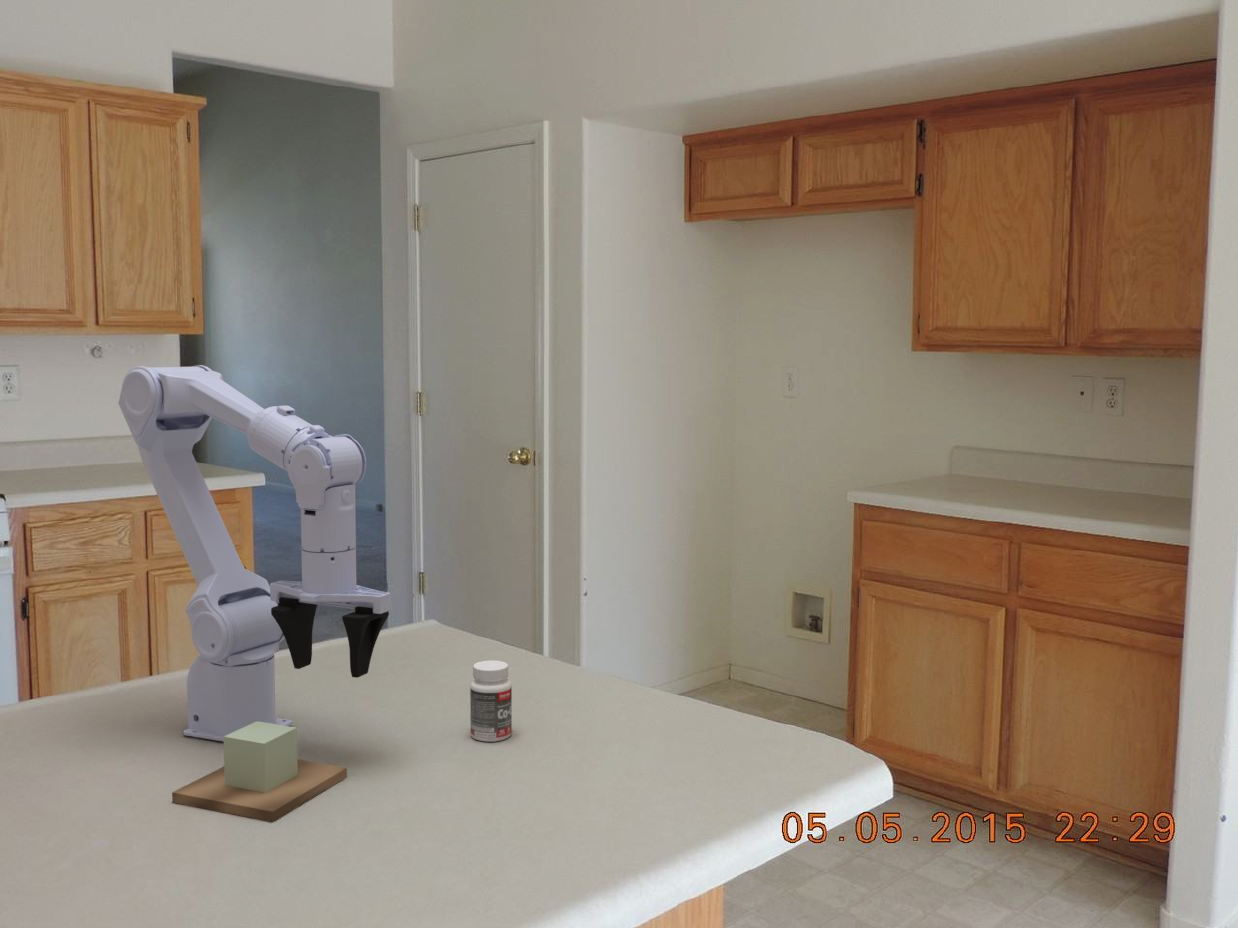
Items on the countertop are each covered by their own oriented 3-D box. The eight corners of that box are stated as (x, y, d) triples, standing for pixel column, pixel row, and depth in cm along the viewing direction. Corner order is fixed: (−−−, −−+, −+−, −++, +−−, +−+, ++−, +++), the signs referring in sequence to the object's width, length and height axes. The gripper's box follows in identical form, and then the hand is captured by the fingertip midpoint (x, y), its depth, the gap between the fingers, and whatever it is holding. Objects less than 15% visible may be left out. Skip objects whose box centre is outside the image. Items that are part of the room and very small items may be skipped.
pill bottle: (504, 744, 128) (504, 672, 127) (464, 740, 129) (464, 669, 128) (516, 730, 133) (516, 660, 132) (478, 727, 134) (478, 658, 133)
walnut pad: (172, 801, 111) (172, 792, 111) (253, 760, 122) (252, 751, 122) (272, 821, 107) (272, 811, 107) (346, 776, 118) (346, 767, 118)
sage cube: (224, 784, 113) (223, 736, 113) (258, 767, 118) (256, 721, 117) (265, 792, 111) (264, 743, 111) (297, 774, 116) (296, 727, 115)
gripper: (249, 548, 121) (253, 672, 123) (362, 560, 116) (364, 689, 117) (292, 538, 128) (295, 655, 129) (401, 548, 122) (402, 671, 124)
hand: (330, 670), depth 124 cm, fingers open, 7 cm apart
